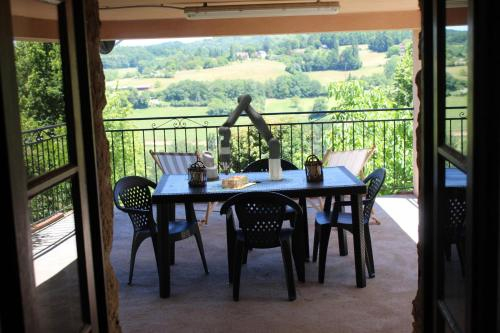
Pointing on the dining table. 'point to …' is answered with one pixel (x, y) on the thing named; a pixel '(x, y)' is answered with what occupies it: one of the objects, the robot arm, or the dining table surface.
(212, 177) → the juicer
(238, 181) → the stack of blocks
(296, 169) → the dining table surface
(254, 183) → the oak board
